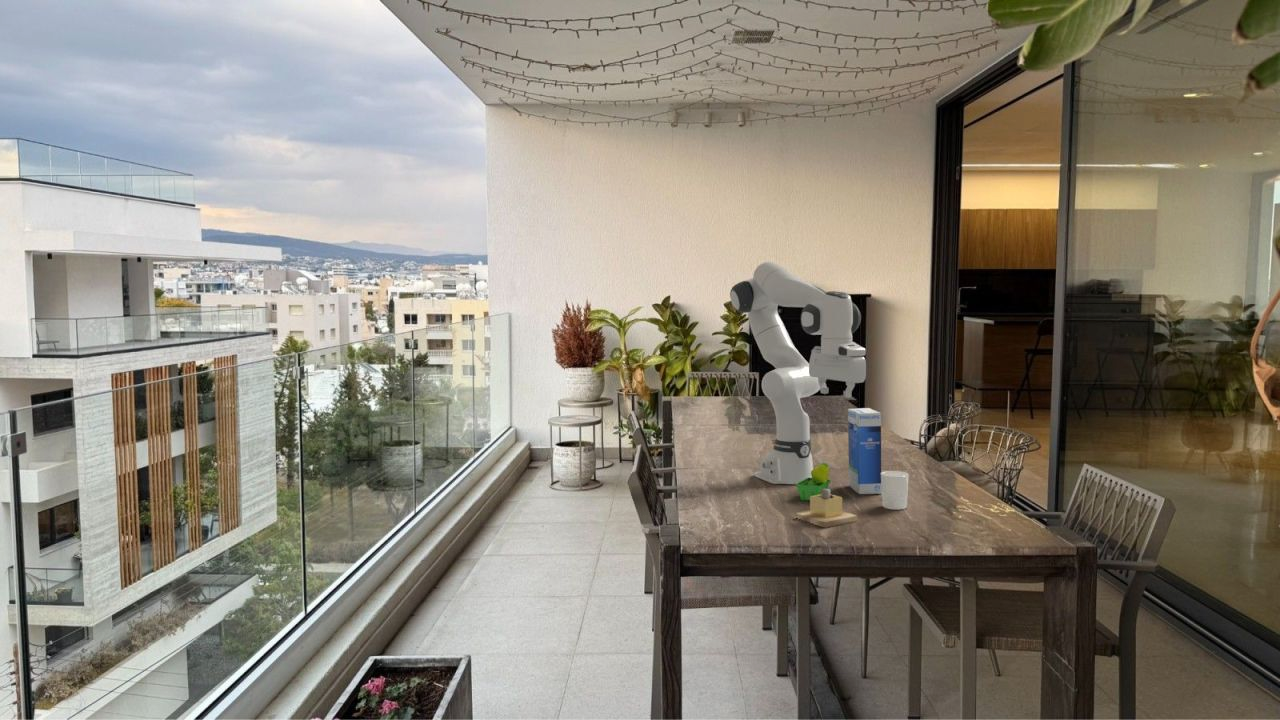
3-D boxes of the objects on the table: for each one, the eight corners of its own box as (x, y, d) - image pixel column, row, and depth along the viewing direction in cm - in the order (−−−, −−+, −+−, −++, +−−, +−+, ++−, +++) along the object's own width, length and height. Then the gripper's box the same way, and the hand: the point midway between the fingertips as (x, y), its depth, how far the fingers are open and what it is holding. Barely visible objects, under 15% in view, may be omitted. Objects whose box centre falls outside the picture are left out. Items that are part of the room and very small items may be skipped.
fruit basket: (807, 492, 267) (807, 457, 266) (835, 495, 263) (834, 460, 262) (795, 500, 257) (794, 464, 257) (823, 503, 253) (822, 466, 252)
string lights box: (882, 494, 263) (882, 412, 261) (858, 494, 262) (857, 413, 261) (870, 485, 276) (870, 407, 274) (847, 485, 276) (847, 408, 274)
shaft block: (795, 518, 236) (795, 488, 236) (827, 512, 242) (827, 483, 242) (825, 527, 226) (824, 496, 226) (857, 520, 232) (857, 490, 232)
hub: (810, 513, 235) (810, 496, 235) (826, 510, 239) (826, 493, 238) (825, 518, 230) (825, 500, 230) (842, 514, 233) (842, 497, 233)
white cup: (890, 511, 242) (890, 477, 241) (875, 505, 249) (875, 472, 249) (914, 508, 244) (914, 475, 243) (898, 502, 251) (898, 470, 251)
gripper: (804, 346, 249) (803, 391, 250) (853, 350, 231) (852, 400, 233) (820, 345, 252) (819, 390, 253) (870, 349, 235) (869, 398, 236)
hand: (835, 395), depth 243 cm, fingers open, 8 cm apart
